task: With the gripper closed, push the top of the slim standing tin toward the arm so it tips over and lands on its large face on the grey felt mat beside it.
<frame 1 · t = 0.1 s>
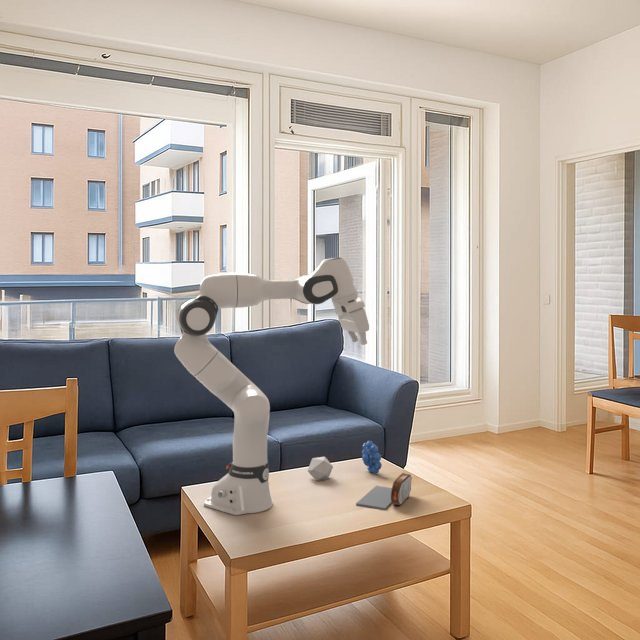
hand: (359, 342, 208), 52 cm above the table, tool tilted 20°, fingers open, 8 cm apart
grapes: (369, 473, 235), on the table
die: (320, 479, 229), on the table
tin: (401, 501, 205), on the table
mat: (380, 498, 208), on the table
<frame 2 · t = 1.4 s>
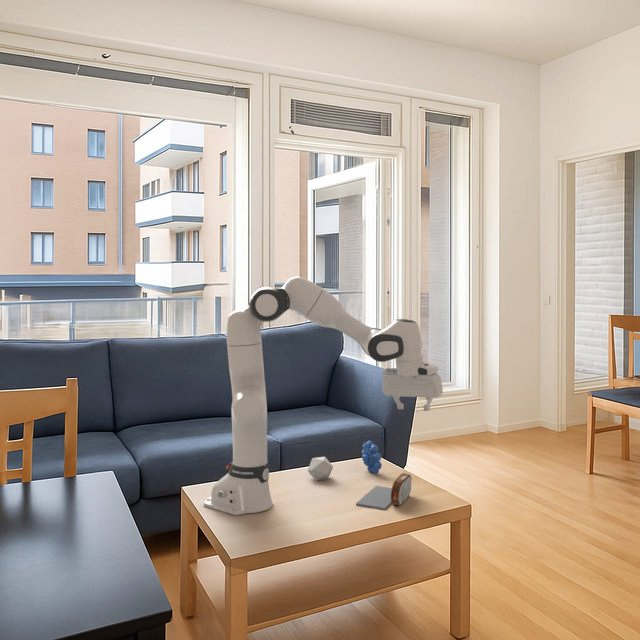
hand: (413, 409, 204), 30 cm above the table, tool pointing down, fingers open, 8 cm apart
nothing on the table moved.
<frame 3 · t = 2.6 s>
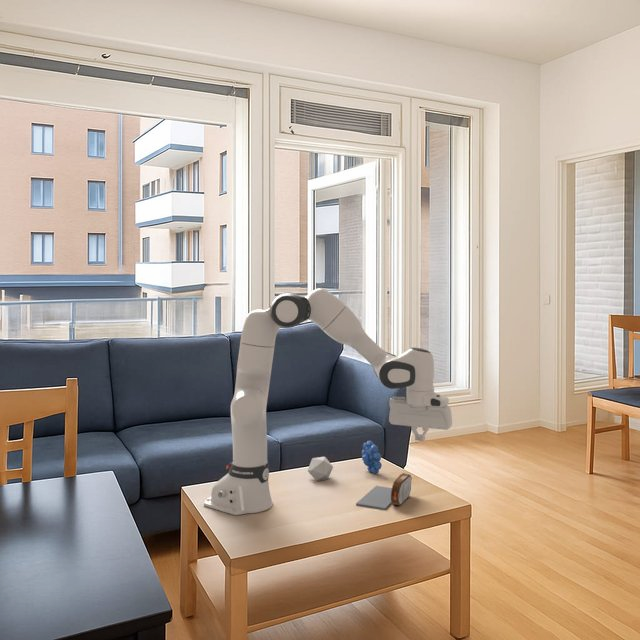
hand: (419, 440, 201), 21 cm above the table, tool pointing down, fingers closed
nothing on the table moved.
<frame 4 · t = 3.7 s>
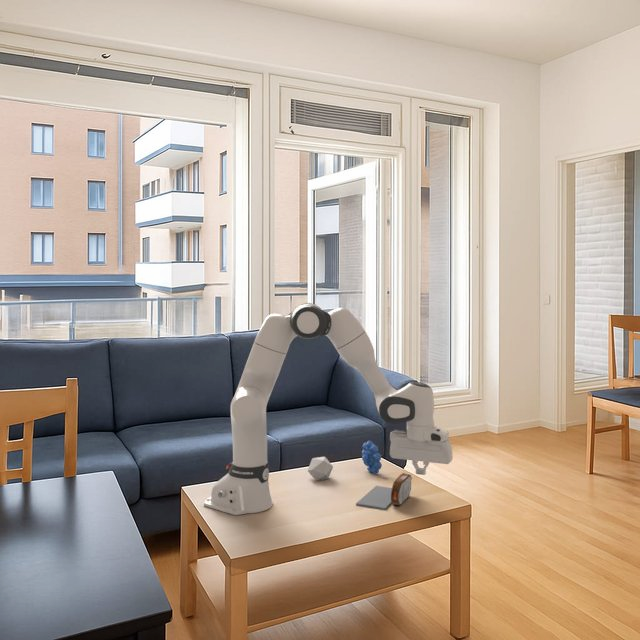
hand: (420, 474, 202), 10 cm above the table, tool pointing down, fingers closed
nothing on the table moved.
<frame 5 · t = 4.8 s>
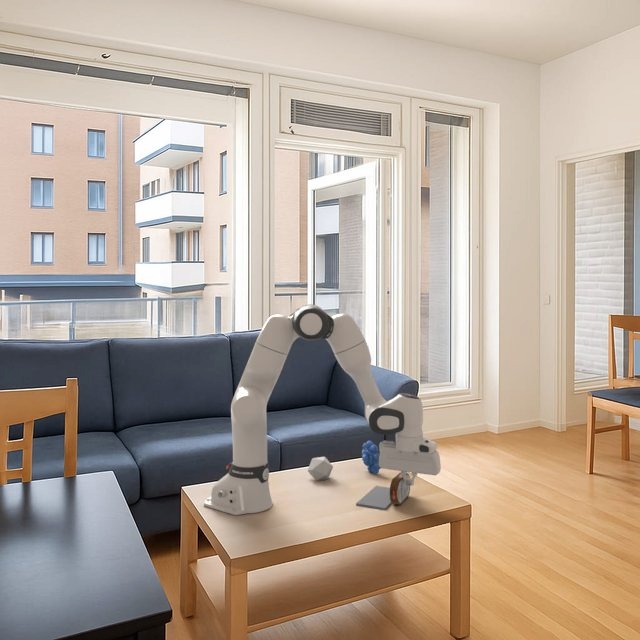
hand: (409, 484, 203), 6 cm above the table, tool pointing down, fingers closed
tin: (401, 501, 205), on the table, touching gripper
everything else where it was.
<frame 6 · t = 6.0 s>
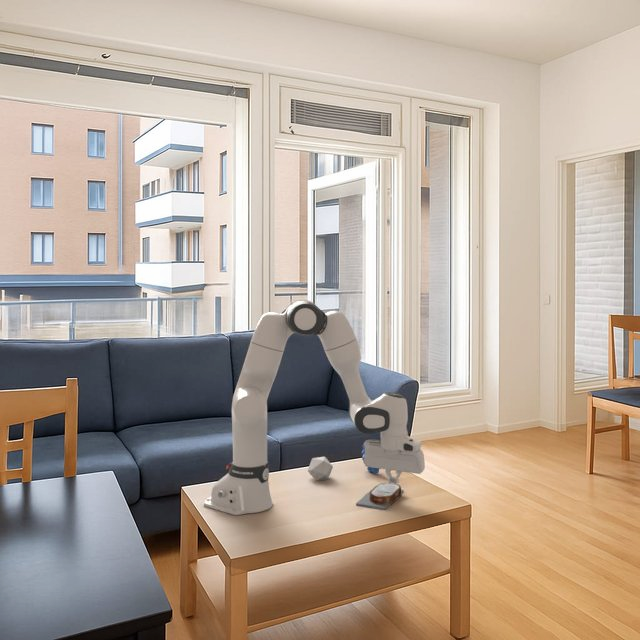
hand: (393, 482, 206), 6 cm above the table, tool pointing down, fingers closed
tin: (397, 494, 206), point 2 cm above the table, touching mat
everything else where it was.
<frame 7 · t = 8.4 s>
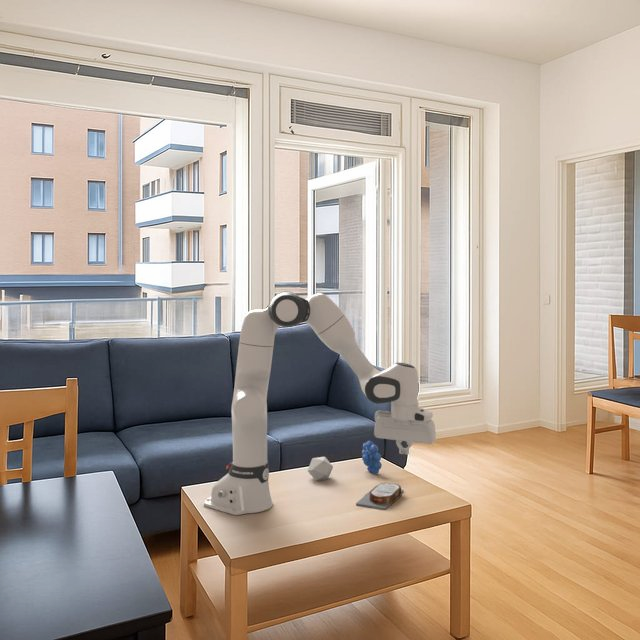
hand: (404, 453, 204), 16 cm above the table, tool pointing down, fingers closed
nothing on the table moved.
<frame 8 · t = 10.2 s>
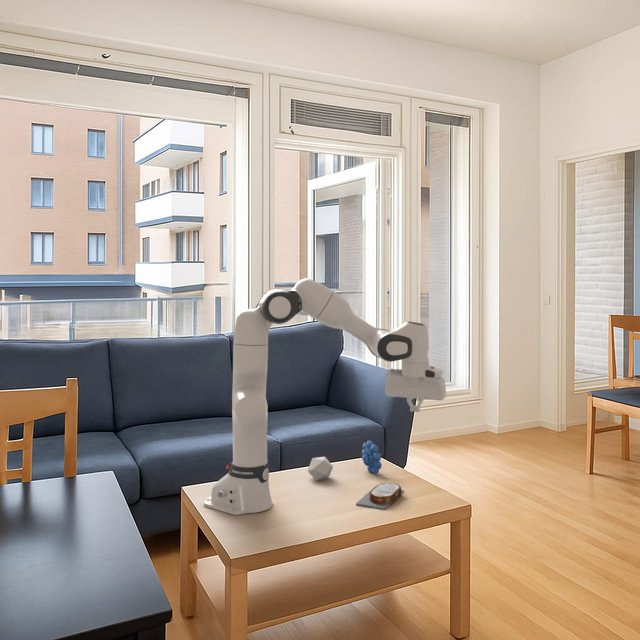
hand: (415, 411, 208), 29 cm above the table, tool pointing down, fingers closed
nothing on the table moved.
at the end: tin tilted 94°; tin inside the target area (5.5 cm from its centre), point 2.2 cm above the table; the gripper is holding nothing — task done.
